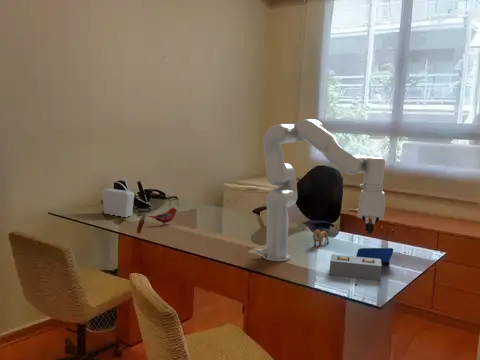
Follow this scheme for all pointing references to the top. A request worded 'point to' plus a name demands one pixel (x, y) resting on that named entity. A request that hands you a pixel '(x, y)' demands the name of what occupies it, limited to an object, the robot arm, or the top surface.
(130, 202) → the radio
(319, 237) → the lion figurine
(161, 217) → the decorative bird figurine
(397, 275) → the top surface
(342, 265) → the block
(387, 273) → the top surface
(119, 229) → the top surface
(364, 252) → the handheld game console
